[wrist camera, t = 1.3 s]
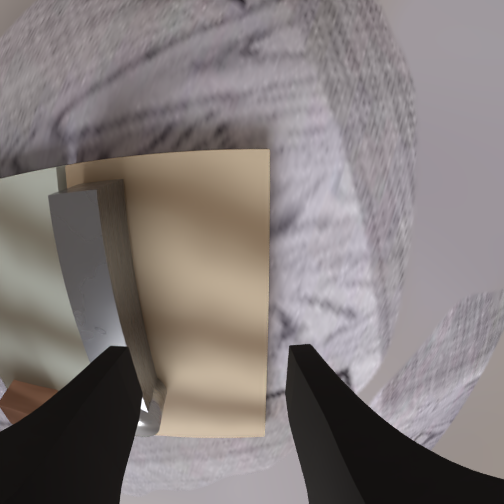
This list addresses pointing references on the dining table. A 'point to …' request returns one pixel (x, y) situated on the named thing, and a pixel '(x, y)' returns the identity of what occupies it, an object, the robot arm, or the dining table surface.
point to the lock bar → (105, 283)
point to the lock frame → (151, 285)
